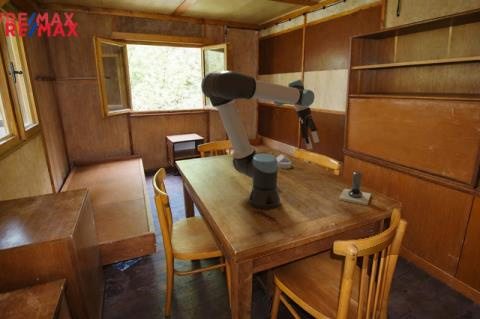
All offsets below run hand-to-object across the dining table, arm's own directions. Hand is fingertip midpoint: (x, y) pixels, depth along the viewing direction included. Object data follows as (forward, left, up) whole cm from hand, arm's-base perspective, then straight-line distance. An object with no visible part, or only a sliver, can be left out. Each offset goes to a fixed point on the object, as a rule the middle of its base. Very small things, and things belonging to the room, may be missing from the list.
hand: (313, 145), depth 151 cm
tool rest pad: (-9, -25, -22) cm, 35 cm away
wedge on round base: (+23, +27, -22) cm, 41 cm away
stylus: (-9, -25, -21) cm, 34 cm away
